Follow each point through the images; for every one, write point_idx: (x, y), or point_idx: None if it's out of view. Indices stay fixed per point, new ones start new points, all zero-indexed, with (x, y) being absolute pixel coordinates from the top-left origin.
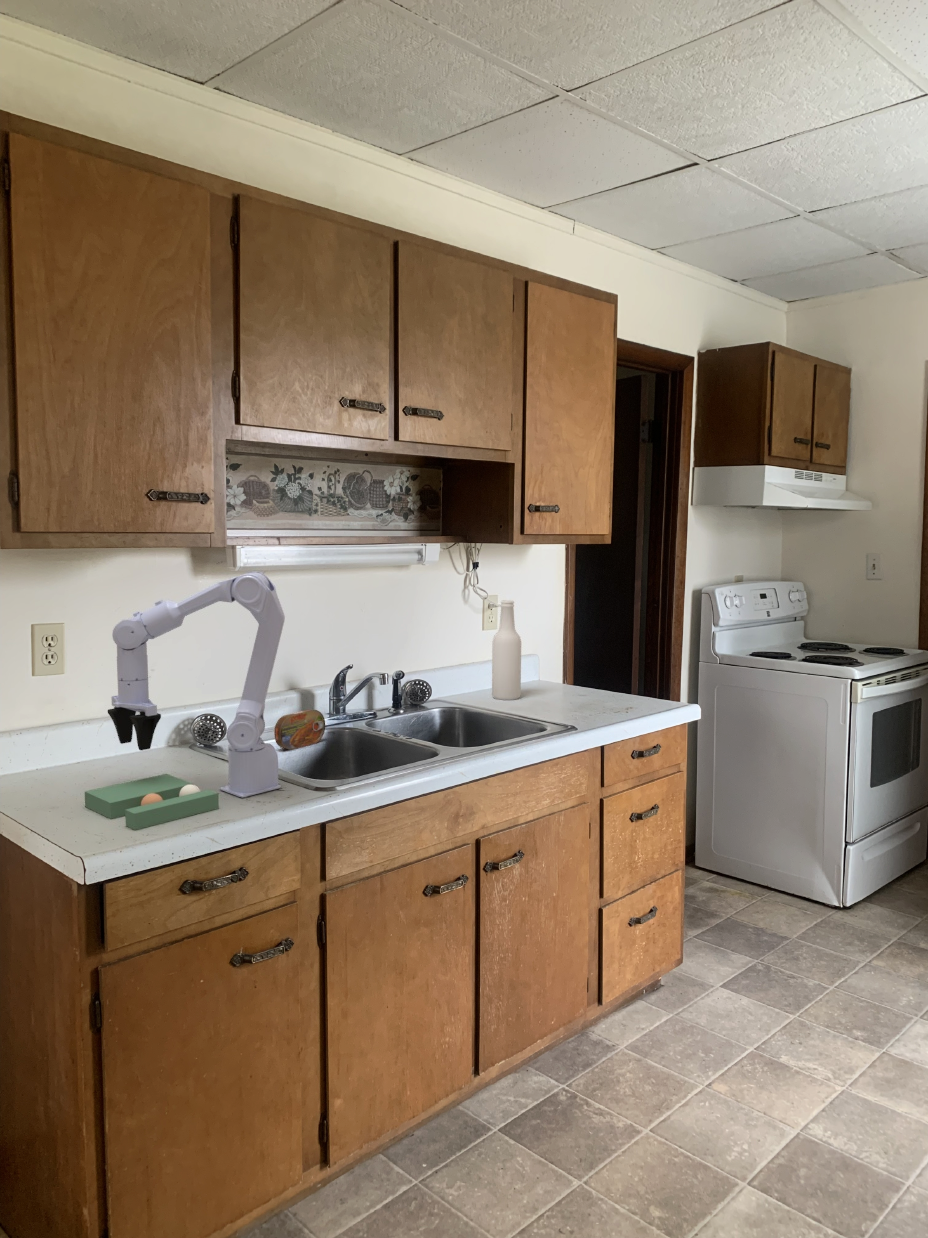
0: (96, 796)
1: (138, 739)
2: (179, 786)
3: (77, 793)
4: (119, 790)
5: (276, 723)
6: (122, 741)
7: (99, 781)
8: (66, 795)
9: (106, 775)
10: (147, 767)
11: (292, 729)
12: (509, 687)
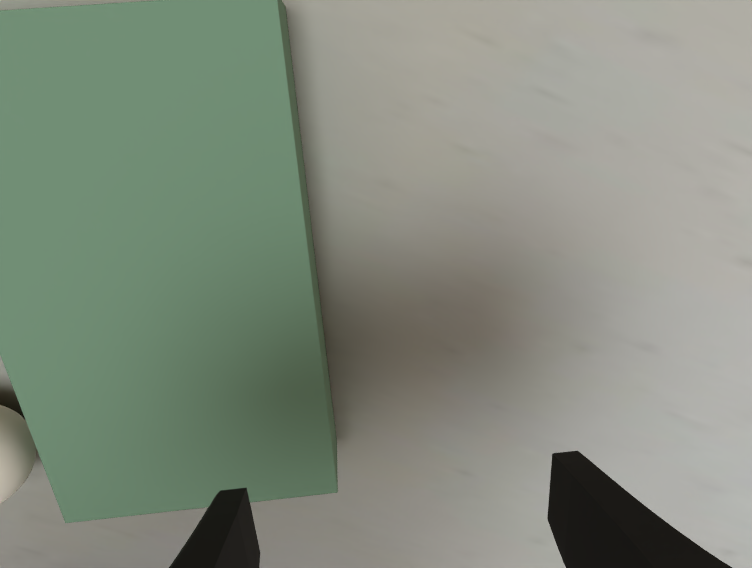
0: (95, 7)
1: (177, 566)
2: (52, 462)
3: (572, 83)
4: (159, 189)
5: None
6: (558, 473)
7: (679, 258)
8: (584, 15)
9: (741, 320)
10: (697, 489)
11: None
12: None
